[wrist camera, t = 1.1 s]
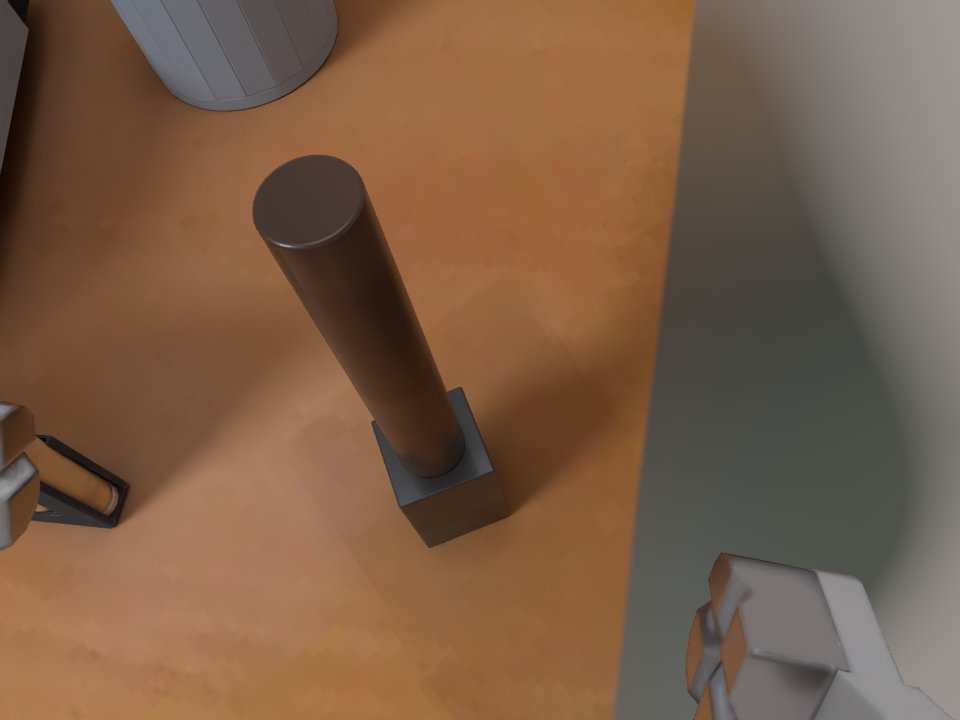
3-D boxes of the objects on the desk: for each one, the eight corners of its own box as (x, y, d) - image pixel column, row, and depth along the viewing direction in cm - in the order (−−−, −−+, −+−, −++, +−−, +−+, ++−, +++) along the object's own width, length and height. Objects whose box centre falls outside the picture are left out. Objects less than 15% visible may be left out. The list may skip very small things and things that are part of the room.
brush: (480, 440, 33) (363, 110, 17) (510, 516, 32) (412, 232, 16) (402, 471, 33) (210, 167, 17) (428, 548, 32) (245, 295, 16)
